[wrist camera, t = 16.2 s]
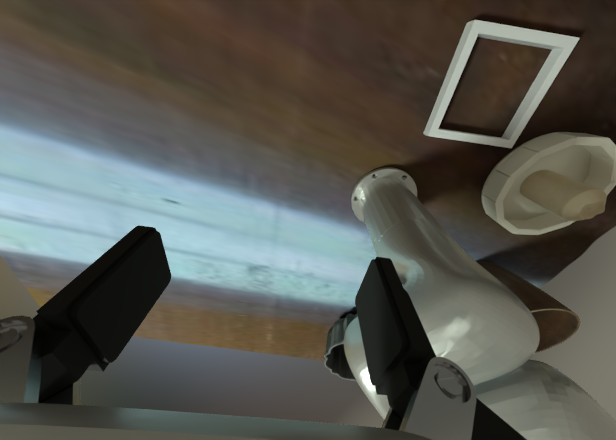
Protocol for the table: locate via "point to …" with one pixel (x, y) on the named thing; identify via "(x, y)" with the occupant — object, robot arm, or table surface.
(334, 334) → the bundt pan
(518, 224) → the bowl
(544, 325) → the plant pot
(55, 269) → the table surface
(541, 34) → the white square frame
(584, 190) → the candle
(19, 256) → the table surface
